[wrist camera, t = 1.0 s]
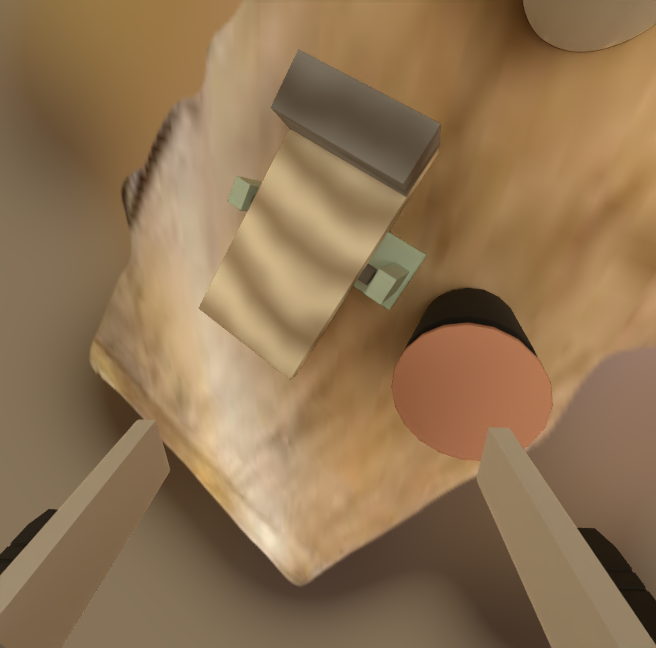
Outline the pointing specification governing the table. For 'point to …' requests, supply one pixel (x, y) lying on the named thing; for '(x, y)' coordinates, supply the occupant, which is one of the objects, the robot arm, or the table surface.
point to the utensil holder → (589, 22)
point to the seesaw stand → (389, 259)
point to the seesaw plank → (318, 210)
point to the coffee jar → (470, 376)
